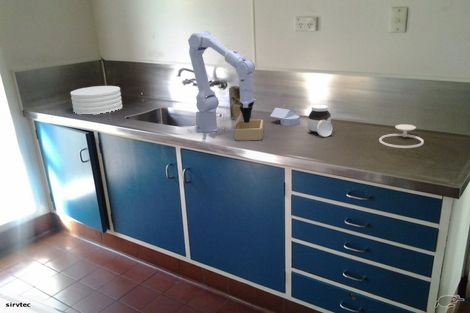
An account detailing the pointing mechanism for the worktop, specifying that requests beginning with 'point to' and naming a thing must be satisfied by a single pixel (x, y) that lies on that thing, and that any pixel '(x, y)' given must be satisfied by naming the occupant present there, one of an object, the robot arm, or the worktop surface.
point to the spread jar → (320, 121)
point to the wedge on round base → (286, 117)
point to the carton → (249, 130)
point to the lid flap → (238, 120)
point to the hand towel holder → (405, 128)
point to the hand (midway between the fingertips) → (247, 120)
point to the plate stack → (96, 99)
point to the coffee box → (235, 102)
